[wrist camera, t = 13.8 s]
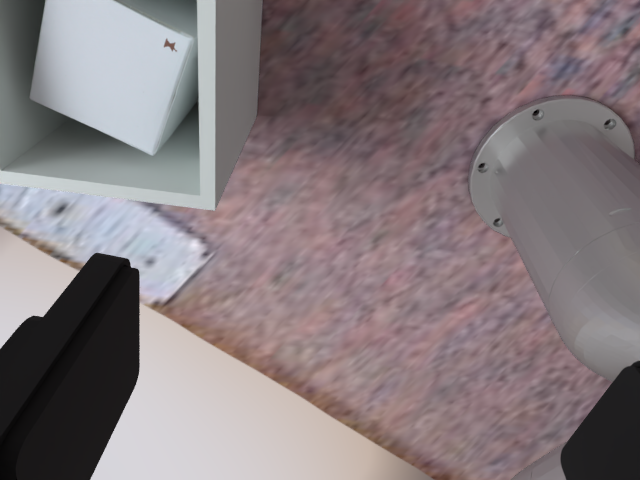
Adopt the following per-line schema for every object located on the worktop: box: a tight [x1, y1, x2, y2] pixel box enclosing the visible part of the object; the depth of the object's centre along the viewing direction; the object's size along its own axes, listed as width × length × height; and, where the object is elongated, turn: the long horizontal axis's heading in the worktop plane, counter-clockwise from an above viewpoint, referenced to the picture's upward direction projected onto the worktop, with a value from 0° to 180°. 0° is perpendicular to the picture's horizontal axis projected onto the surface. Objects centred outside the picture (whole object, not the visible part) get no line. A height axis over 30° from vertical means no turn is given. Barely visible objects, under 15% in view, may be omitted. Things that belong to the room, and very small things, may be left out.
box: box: [0, 0, 263, 211], centre depth 30 cm, size 12×12×15 cm
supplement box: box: [29, 0, 199, 156], centre depth 31 cm, size 7×7×13 cm
